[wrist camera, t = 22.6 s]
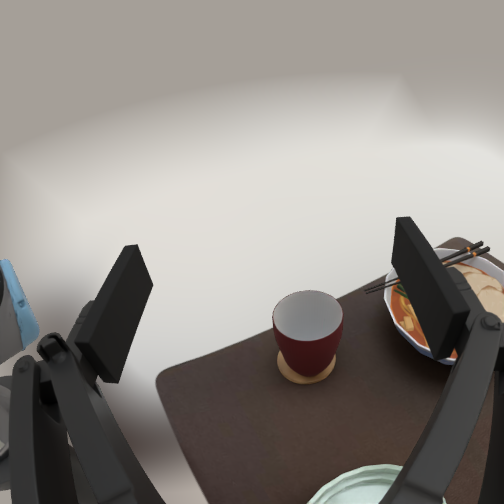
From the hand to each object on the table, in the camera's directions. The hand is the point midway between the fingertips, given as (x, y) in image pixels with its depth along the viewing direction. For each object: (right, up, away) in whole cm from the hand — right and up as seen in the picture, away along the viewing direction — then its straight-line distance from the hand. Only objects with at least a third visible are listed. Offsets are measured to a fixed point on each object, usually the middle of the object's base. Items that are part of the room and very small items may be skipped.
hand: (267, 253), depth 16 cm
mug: (+7, -14, +26) cm, 31 cm away
